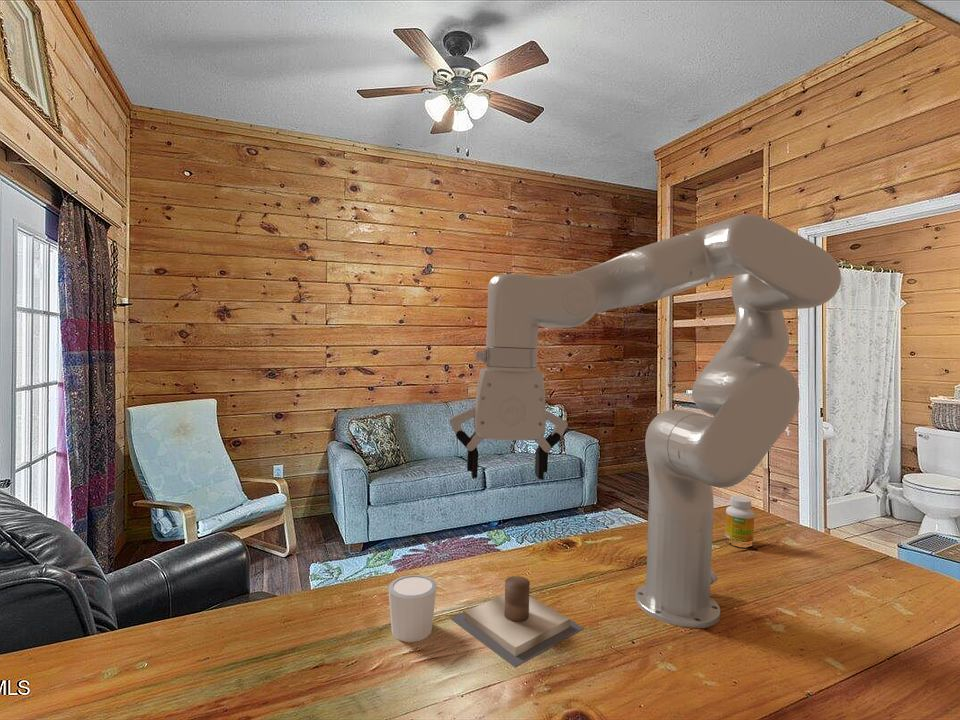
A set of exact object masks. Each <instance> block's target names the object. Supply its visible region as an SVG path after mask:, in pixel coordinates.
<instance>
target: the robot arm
mask: <svg viewBox="0 0 960 720" xmlns="http://www.w3.org/2000/svg"><path fill="white" fill-rule="evenodd" d="M728 277H729V278H731V277H733V278H732V279H733V280H732V282H731V289H730V290H731V297H732V301H733V306H734V311H735V325H734V327H733V331H732V332H731V333H730V335H729V337H728V338H727V340H726V341H725V342H724V343H723V345H721V347H720V348H719V350H718V351H717V352H716V353H715V354H714V356H713V357H712V358H711V359H710V361H709V362H708V363H707V364H706V366H704V368H703V369H702V371H701V372H700V373H699V374H698V376H697V377H696V379H695V381H694V383H693V386H692V389H691V397H692V400H693V402H694V404H695V406H697V408H698V409H700V411H702V412H704V413H706V414H708V415H706V414H702V413H697V412H694V411H690V410H686V409H685V410H684V409H669V410H666V411H663V412H661V413H659V414H657V415H656V416H655V417H654V418H653V419H652V420H651V422H650V423H649V425H648V427H647V429H646V433H645V441H644V447H645V454H646V455H645V456H646V461H647V463H646V464H647V468H648V469H647V470H648V484H649V486H648V487H649V488H648V489H649V490H648V492H649V493H648V512H647V515H648V516H647V543H646V545H647V546H646V570H645V571H646V575H645V576H646V577H645V583H643V584H642V585H641V586H639V587H637V589H636V590H635V602H636V604H637V606H638V607H639V608H640V609H641V610H642V611H643V612H644V613H646V614H647V615H649V616H650V617H652V618H654V619H656V620H658V621H661V622H663V623H666V624H668V625H672V626H676V627H681V628H689V629H691V628H692V629H693V628H694V629H697V628H698V629H700V628H702V629H706V627H707V628H710V627H709V626H711V627H713V626H715V625H716V624H717V623H718V622H719V621H720V619H721V607H720V605H719V604H718V603H717V601H716V600H715V599H714V598H713V597H712V596H711V586H712V585H713V584H714V583H716V582H717V581H718V575H717V573H716V572H715V571H714V570H712V555H713V554H712V553H713V552H712V551H713V530H714V528H713V527H714V513H715V512H714V511H715V510H714V507H715V506H714V505H715V503H714V494H713V488H721V489H723V488H725V489H727V488H731V487H735V486H736V485H738V484H740V483H742V482H743V481H744V480H746V479H747V477H749V476H750V474H752V473H753V471H755V469H756V468H757V466H758V465H760V462H761V461H762V460H763V459H764V458H765V456H766V455H767V454H768V452H769V451H770V450H771V448H772V447H773V446H774V445H775V444H776V442H777V441H778V440H779V438H780V437H781V436H782V434H783V433H784V432H785V430H786V429H787V428H788V426H789V425H790V424H791V423H792V420H793V419H794V417H795V415H796V412H797V410H798V407H799V402H800V388H799V385H798V381H797V380H796V377H795V376H794V375H793V373H792V372H791V371H790V370H789V369H788V368H786V367H784V366H782V365H781V363H782V362H783V360H784V359H785V357H786V355H787V353H788V350H789V348H790V337H789V332H788V328H787V324H786V320H785V315H784V313H783V312H784V311H786V310H800V309H803V310H804V309H812V308H815V307H816V308H817V307H819V306H822V305H825V303H827V302H829V301H830V300H832V298H834V296H835V295H836V294H837V292H838V291H839V289H840V285H841V281H842V274H841V269H840V267H839V264H838V263H837V261H836V259H835V258H834V257H833V256H832V255H831V253H829V252H828V251H826V250H825V249H823V248H822V247H820V246H819V245H817V244H815V243H813V242H812V241H810V240H809V239H806V238H805V237H803V236H802V235H799V234H797V233H796V232H794V231H793V230H791V229H789V228H787V227H785V226H784V225H781V224H779V223H778V222H775V221H774V220H771V219H768V218H766V217H763V216H762V215H757V214H752V213H751V214H750V213H743V214H737V215H736V216H733V217H732V216H731V217H730V218H726V219H724V220H720V221H718V222H716V223H715V222H714V223H712V224H709V225H705V226H703V227H700V228H697V229H695V230H694V229H693V230H690V231H687V232H684V233H681V234H678V235H675V236H673V237H669V238H666V239H663V240H659V241H656V242H653V243H650V244H647V245H643V246H639V247H637V248H634V249H632V250H630V251H626V252H624V253H622V254H619V255H618V256H615V257H613V258H611V259H609V260H607V261H605V262H602V263H598V264H596V265H594V266H591V267H588V268H585V269H582V270H580V271H576V272H573V273H570V274H561V275H551V276H549V275H548V276H532V275H529V274H523V273H502V274H501V273H500V274H496V275H493V277H492V278H490V280H489V282H488V286H487V306H486V307H487V313H486V314H487V315H486V334H485V335H486V339H485V348H484V349H483V350H481V351H478V350H476V351H475V361H480V362H482V363H484V365H485V366H484V368H480V371H479V375H478V380H477V386H476V393H475V402H474V406H472V407H470V408H469V409H466V410H464V411H462V412H461V413H458V414H456V415H454V416H452V417H450V418H449V424H450V426H451V428H452V430H453V432H454V434H455V437H456V438H457V440H458V441H460V443H461V444H462V445H463V446H464V447H465V448H466V450H467V453H466V454H467V458H466V459H467V460H466V461H467V462H466V471H467V472H470V475H471V478H472V479H477V478H478V475H479V474H478V470H479V469H478V468H479V467H478V466H479V451H478V446H479V444H481V442H482V441H483V440H491V441H492V440H493V441H535V443H537V447H536V449H535V454H534V455H535V461H534V475H535V476H536V478H537V479H539V480H544V479H545V478H544V474H545V473H547V472H548V466H549V464H548V463H549V453H550V452H551V451H552V448H554V447H555V446H556V444H558V443H559V442H560V441H561V438H562V435H564V433H565V431H566V429H567V428H568V425H569V424H568V421H566V420H565V419H563V418H561V417H560V416H557V415H556V414H554V413H552V412H551V411H548V410H547V408H546V391H545V380H544V374H543V371H542V370H538V369H537V367H538V347H539V346H538V345H539V344H538V342H539V327H542V328H544V329H549V330H550V329H566V328H567V329H568V328H575V327H579V326H582V325H584V324H586V323H587V322H588V321H590V320H591V319H592V318H593V316H595V314H599V313H602V312H606V311H611V310H614V309H619V308H627V307H635V306H640V305H644V304H648V303H652V302H656V301H660V300H662V299H665V298H668V297H671V296H674V295H676V294H678V293H681V292H685V291H689V290H690V289H692V288H696V287H699V286H702V285H705V284H709V283H712V282H714V281H717V280H720V279H724V278H728ZM709 415H710V416H709ZM471 419H473V427H474V432H472V434H471V435H470V436H469V435H468V434H467V433H466V432H465V431H464V429H463V428H462V424H463V423H464V422H468V421H469V420H471ZM547 422H549V423H550V424H551V423H552V424H553V425H554V428H553V430H552V432H550V433H549V435H547V436H546V437H545V434H546V425H547ZM712 487H713V488H712ZM719 618H720V619H719ZM718 620H719V621H718ZM715 623H716V624H715ZM714 624H715V625H714ZM712 625H713V626H712Z"/></svg>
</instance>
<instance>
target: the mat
mask: <svg viewBox="0 0 960 720" xmlns="http://www.w3.org/2000/svg"><path fill="white" fill-rule="evenodd" d="M449 619H450V620H451V621H452V622H453V623H455V624H456V625H458V626H459V627H461V628H462V629H463V630H464V631H466V632H467V633H469V635H471V636H472V637H474V638H475V639H476V640H478V641H479V642H481V643H482V644H483V645H484V646H485V647H487V648H489V649H490V650H491V651H493V652H494V653H495V654H496V655H498V656H499V657H500V658H502V659H503V660H505V661H506V662H508V664H510V665H511V666H512V667H514V668H517V667H518V666H520V665H522V664H523V663H526V662H527V661H529V660H531V659H533V658H534V657H536V656H539V654H542V653H543V652H545V651H547V650H549V649H551V648H552V647H554V646H556V645H558V644H560V643H561V642H562V641H565V640H567V639H568V638H570V637H572V636H573V635H575V634H577V633H579V632H581V631H582V630H584V629H585V627H584V626H581V625H580V624H578V623H576V621H575V622H574V621H573V620H571V619H570V627H569V628H567V629H565V630H563V631H561V632H560V633H558V634H556V635H554V636H552V637H550V638H548V639H547V640H545V641H543V642H541V643H539V644H537V645H536V646H534V647H532V648H530V649H528V650H526V651H525V652H523V653H521V654H519V655H517V656H514V655H513V654H511V653H510V652H508V651H507V650H506V649H504V648H503V647H502V646H500V645H499V644H497V643H496V642H495V641H493V640H492V639H491V638H489V637H488V636H486V635H485V634H484V633H482V632H481V631H479V630H478V629H477V628H475V627H474V626H473V625H471V624H470V623H468V622H467V621H466V620H464V612H461V613H459V614H457V615H454V616H452V617H450V618H449Z"/></svg>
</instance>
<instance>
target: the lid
mask: <svg viewBox="0 0 960 720" xmlns="http://www.w3.org/2000/svg"><path fill="white" fill-rule="evenodd" d="M463 613H464V620H466V621H467V622H468V623H470V624H471V625H473V626H474V627H475V628H477V629H478V630H479V631H481V632H482V633H484V634H485V635H486V636H488V637H489V638H491V639H492V640H493V641H495V642H496V643H497V644H499V645H500V646H502V647H503V648H504V649H506V650H507V651H508V652H510V653H511V654H513V655H514V656H517V655H519V654H521V653H523V652H525V651H526V650H528V649H530V648H532V647H534V646H536V645H537V644H539V643H541V642H543V641H545V640H547V639H548V638H550V637H552V636H554V635H556V634H558V633H560V632H561V631H563V630H565V629H567V628H569V627H570V620H571V619H570V618H569V617H568V616H565V615H564V614H562V613H560V612H559V611H557V610H555V609H553V608H551V607H550V606H548V605H547V604H545V603H543V602H541V601H539V600H538V599H536V598H534V597H532V596H531V595H530V580H529V579H528V578H526V577H525V576H524V577H523V576H520V575H512V576H509V577H507V578H506V579H505V580H504V594H503V595H502V594H501V595H500V596H498V597H495V598H493V599H490V600H488V601H486V602H484V603H481V604H479V605H477V606H474V607H471V608H469V609H467V610H464V611H463Z"/></svg>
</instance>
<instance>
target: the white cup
mask: <svg viewBox="0 0 960 720" xmlns="http://www.w3.org/2000/svg"><path fill="white" fill-rule="evenodd" d="M387 588H388V589H387V591H388V600H389V602H388V603H389V614H390V616H389V617H390V626H391V633H392V636H393V638H395V639H397V640H398V641H401V642H405V643H406V642H407V643H415V642H419V641H422V640H425V639H426V638H428V637H429V636H430V635H431V633H432V630H433V623H434V620H433V619H434V614H435V603H436V594H437V583H436V581H435V579H432V578H431V577H429V576H426V575H421V574H410V575H403V576H400V577H398V578H395V579H394V580H392V581H391V582H390V583H389V585H388V587H387Z"/></svg>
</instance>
